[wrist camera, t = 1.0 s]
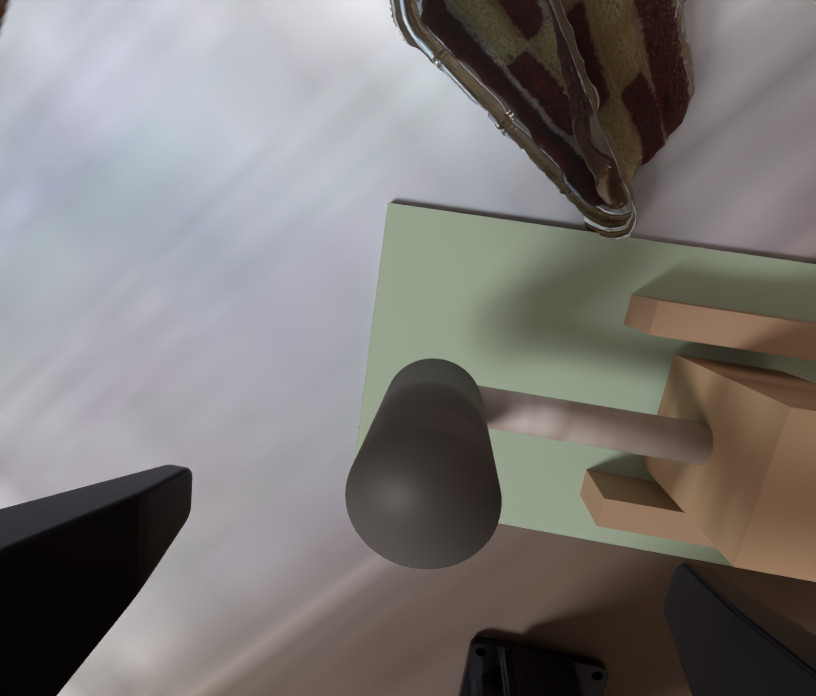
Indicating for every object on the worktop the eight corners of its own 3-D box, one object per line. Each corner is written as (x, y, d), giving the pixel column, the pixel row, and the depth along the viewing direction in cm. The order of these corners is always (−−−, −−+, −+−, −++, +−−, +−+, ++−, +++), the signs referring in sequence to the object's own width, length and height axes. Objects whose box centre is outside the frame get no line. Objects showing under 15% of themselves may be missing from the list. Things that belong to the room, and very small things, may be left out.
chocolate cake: (758, 124, 17) (902, -509, 7) (635, 256, 16) (622, -245, 7) (555, 89, 23) (492, -284, 13) (460, 184, 22) (326, -135, 13)
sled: (741, 482, 18) (1049, 727, 9) (390, 421, 19) (333, 584, 10) (780, 370, 17) (1177, 513, 8) (407, 311, 18) (360, 376, 9)
